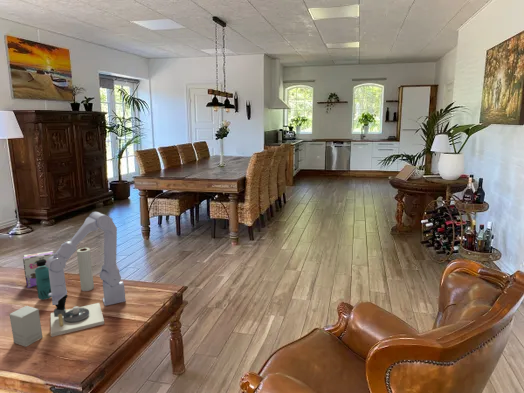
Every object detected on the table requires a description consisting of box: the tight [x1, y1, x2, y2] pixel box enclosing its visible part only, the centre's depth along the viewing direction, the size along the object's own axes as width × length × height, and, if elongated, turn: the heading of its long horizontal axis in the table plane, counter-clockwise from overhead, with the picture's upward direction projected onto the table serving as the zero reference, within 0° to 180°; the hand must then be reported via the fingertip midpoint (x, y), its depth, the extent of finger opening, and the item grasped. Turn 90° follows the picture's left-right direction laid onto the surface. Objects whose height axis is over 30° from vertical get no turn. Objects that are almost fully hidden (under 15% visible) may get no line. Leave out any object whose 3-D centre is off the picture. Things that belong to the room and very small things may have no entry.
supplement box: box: [9, 305, 43, 348], centre depth 150 cm, size 7×7×13 cm
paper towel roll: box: [76, 246, 95, 292], centre depth 193 cm, size 7×6×21 cm
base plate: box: [50, 302, 105, 338], centre depth 165 cm, size 20×18×6 cm
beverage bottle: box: [35, 260, 52, 300], centre depth 182 cm, size 6×7×20 cm
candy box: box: [22, 250, 54, 289], centre depth 199 cm, size 14×6×16 cm, turn 117°
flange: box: [53, 307, 89, 323], centre depth 164 cm, size 14×10×4 cm
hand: (61, 312), depth 165 cm, fingers closed
